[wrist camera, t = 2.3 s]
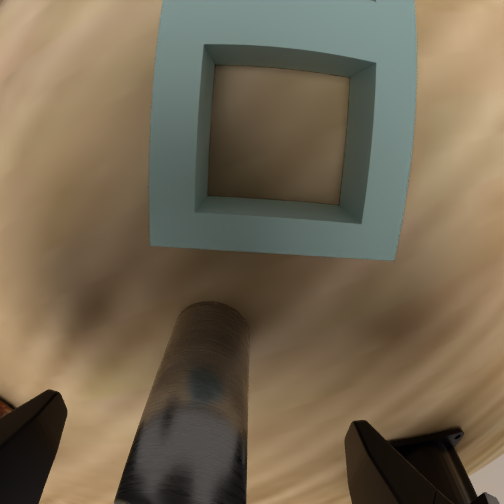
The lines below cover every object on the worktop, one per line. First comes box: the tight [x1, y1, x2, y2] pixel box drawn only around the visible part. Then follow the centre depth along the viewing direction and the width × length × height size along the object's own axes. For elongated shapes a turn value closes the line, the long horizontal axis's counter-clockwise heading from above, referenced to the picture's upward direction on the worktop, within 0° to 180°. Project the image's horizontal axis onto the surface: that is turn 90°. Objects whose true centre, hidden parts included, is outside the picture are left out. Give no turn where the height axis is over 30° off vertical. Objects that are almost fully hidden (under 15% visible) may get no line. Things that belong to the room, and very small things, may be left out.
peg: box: [114, 302, 249, 504], centre depth 9 cm, size 3×3×8 cm
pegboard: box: [149, 0, 417, 261], centre depth 8 cm, size 7×13×2 cm, turn 176°
